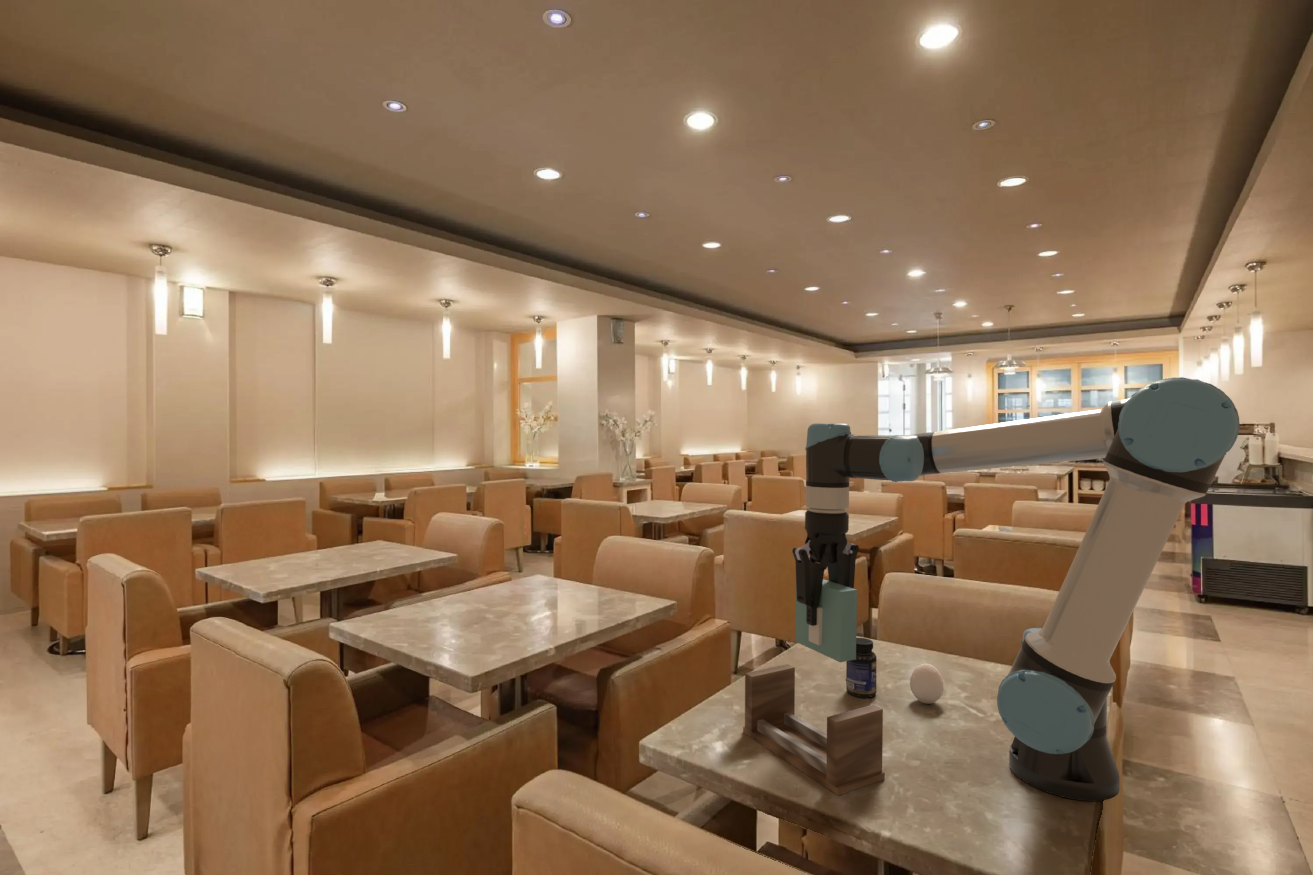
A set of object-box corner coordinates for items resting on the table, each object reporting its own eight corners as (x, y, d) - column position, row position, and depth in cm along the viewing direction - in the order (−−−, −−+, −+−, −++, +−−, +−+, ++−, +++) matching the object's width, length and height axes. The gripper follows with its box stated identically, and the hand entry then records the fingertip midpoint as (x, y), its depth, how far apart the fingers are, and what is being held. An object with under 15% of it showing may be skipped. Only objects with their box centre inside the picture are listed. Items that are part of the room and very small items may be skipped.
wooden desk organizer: (884, 778, 106) (885, 710, 105) (838, 795, 101) (838, 723, 101) (785, 720, 127) (786, 663, 126) (743, 731, 122) (743, 672, 122)
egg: (922, 693, 140) (922, 656, 140) (950, 704, 135) (950, 665, 134) (903, 700, 136) (903, 662, 136) (930, 711, 131) (931, 671, 131)
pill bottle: (878, 699, 137) (878, 646, 137) (847, 697, 138) (847, 644, 138) (874, 688, 143) (874, 637, 143) (845, 685, 144) (845, 635, 144)
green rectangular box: (855, 659, 114) (857, 589, 114) (840, 662, 112) (841, 591, 112) (810, 638, 125) (811, 575, 124) (795, 641, 123) (796, 576, 123)
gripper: (847, 505, 125) (845, 629, 125) (776, 509, 118) (773, 641, 118) (877, 510, 118) (874, 641, 119) (803, 514, 111) (801, 654, 111)
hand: (824, 640), depth 118 cm, fingers closed on green rectangular box, 3 cm apart
